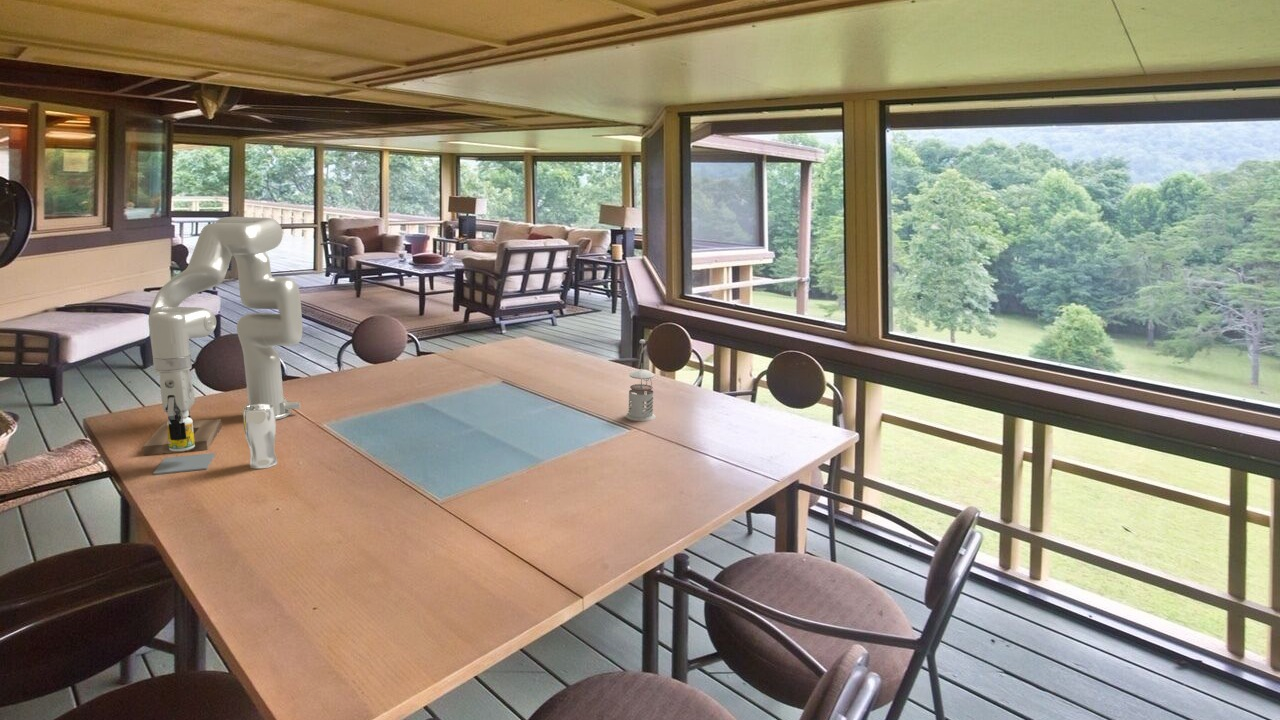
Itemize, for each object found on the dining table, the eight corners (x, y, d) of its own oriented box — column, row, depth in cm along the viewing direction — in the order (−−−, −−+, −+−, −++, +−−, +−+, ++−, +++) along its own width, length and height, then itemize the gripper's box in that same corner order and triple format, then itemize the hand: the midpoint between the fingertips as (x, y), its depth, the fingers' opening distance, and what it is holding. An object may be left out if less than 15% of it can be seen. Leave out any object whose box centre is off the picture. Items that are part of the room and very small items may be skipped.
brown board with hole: (221, 427, 201) (220, 418, 200) (207, 449, 183) (206, 440, 182) (164, 431, 196) (163, 423, 195) (144, 455, 178) (143, 446, 177)
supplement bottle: (194, 444, 175) (191, 407, 173) (195, 450, 170) (192, 412, 169) (168, 447, 172) (165, 409, 170) (168, 453, 168) (165, 414, 166)
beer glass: (270, 457, 178) (264, 401, 175) (285, 463, 174) (279, 406, 171) (242, 465, 173) (236, 407, 169) (256, 471, 169) (250, 412, 165)
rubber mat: (215, 454, 179) (215, 453, 179) (206, 469, 169) (206, 468, 169) (165, 459, 175) (164, 457, 175) (153, 474, 165) (153, 473, 165)
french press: (620, 418, 218) (621, 340, 213) (634, 409, 229) (636, 334, 223) (649, 422, 214) (651, 343, 209) (662, 412, 225) (664, 337, 220)
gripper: (182, 370, 160) (191, 444, 164) (198, 355, 176) (206, 423, 180) (144, 372, 158) (154, 447, 162) (163, 357, 173) (172, 426, 177)
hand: (181, 434), depth 171 cm, fingers closed on supplement bottle, 5 cm apart
